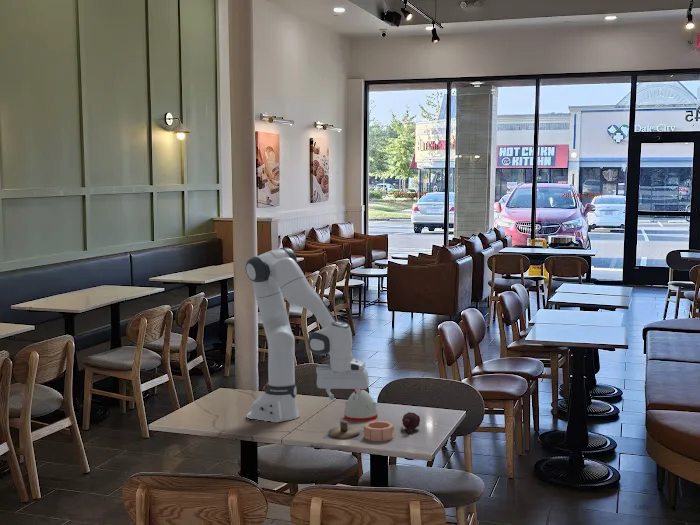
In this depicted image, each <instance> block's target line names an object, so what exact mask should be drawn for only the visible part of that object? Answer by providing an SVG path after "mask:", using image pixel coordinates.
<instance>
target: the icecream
mask: <svg viewBox="0 0 700 525" xmlns="http://www.w3.org/2000/svg"><path fill="white" fill-rule="evenodd" d="M420 418H421V417H420V415H418V414H417V413H415V412H410V411H408V412H407V413H405V414H404V415H403V416H402V419H401V420H402V426H403V427H404V428H405V429H406V430H407V431H406V432H407V434H408V435H409V434H412V432H413V430H415V429H416V428H418V427H419V426H420V423H421V419H420Z"/></svg>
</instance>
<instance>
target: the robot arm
mask: <svg viewBox="0 0 700 525" xmlns="http://www.w3.org/2000/svg"><path fill="white" fill-rule="evenodd" d="M245 273H246V275H247V277H248V279H249V280H250V281H251V282H253V290H254V291H253V292H254V295H255V299H256V303H257V306H258V311H259V314H260V318H261V322H262V326H263V330H264V333H265V337H266V341H267V348H268V349H267V356H268V357H267V362H268V363H267V370H268V382H267V383H266V384H265V385H264V386H263V390H264V392H263V393H262V394H261V395H260V396H259V397H257V398H256V399H255V400H254V401H253V403H252V404H251V409H250V410H251V411H249V412H248V413H247V414H246V417H247V418H251V419H258V420H264V421H263V422H267V421H271V422H270V423H279V422H285V421H291V420H295V419H297V418H299V417H300V411H299V408H298V403H297V384H296V381H295V380H296V379H295V378H296V377H295V360H296V359H295V357H296V356H295V355H296V353H295V352H296V347H295V345H296V342H295V341H296V339H295V335H294V333H293V331H292V328H291V327H292V326H291V324H290V319H289V314H288V311H287V307H286V306H287V305H286V302H285V300H286V301H287V303H288V304H290V305H292V306H295V307H298V308H304V309H306V310H308V311H310V312H311V313H312V314H313V315H314V317H315V318H316V320H317V322H318V323H319V324H320V326H321V329H319V330H316V331H313V332H312V333H311V334H309V336H308V338H307V347H308V348H309V351H310V352H311V353H312V354H313V355H315V356H324V355H326V354H327V355H329V358H330V359H329V363H326V364H324V363H320V364H319V365H317V366H316V368H315V374H316V375H317V377H316V386H317V388H318V389H325V392H326V393H327V395H328V398H329V399H328V400H330V401H331V400H332V401H333V400H335V394H333V393H332V392H331V390H332V389H334V390H335V389H337V390H339V389H341V390H342V389H343V390H345V389H347V390H348V389H349V390H351V389H352V390H355V391H356V392H357V393H356V395H353V400H358V394H359V392H360V389H366V390H367V388H369V385H370V378H369V374H368V371H367V369H366V362H364V361H363V360H360V359H359V360H358V359H356V358H354V355H353V350H352V349H353V335H352V334H353V333H352V330H351V326H350V325H349V324H348V323H347V322H343V321H337V319H336V318H335V317H334V315H333V313H332V312H331V310H330V309H329V307H328V306H327V304H326V302H325V301H324V300H323V298H322V297H321V296H320V294H318V292H316V291H315V290H314V288H313V287H312V286H311V284H310V283H309V281H308V279H307V278H306V276H305V274H304V271H302V269H301V267H300V265H299V264H298V258H297V256H296V253H295V251H294V250H292V249H291V248H289V247H280V248H277V249H272V250H269V251H266V252H264V253H262V254H259V255H257V256H253V257H251V258H249V259H248V260H247V261H246V263H245ZM246 417H245V418H246ZM258 420H257V421H258Z"/></svg>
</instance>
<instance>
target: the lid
mask: <svg viewBox="0 0 700 525" xmlns="http://www.w3.org/2000/svg"><path fill="white" fill-rule="evenodd" d="M339 423H340V424H339V426H338V427H337V426H336V427H333V428H330V429H329V430H328V431H329V436H330V437H333V438H339V440H348V439H347V438H353V437H357V436H358V435H359V434H360V430H361V429H359V428H357V427H353V426H348V421H347V420H341V421H340V422H339ZM333 438H332V439H333Z"/></svg>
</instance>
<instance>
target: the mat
mask: <svg viewBox="0 0 700 525" xmlns="http://www.w3.org/2000/svg"><path fill="white" fill-rule="evenodd" d="M359 430H360V434H359V435H358V436H357V437H353V438H347V439H346V440H354V441H355V440H357V441H358V440H360V439H361V436H363V435H364V429H363V430H362V429H359ZM322 439H339V438H333V437H330V436H329V430H328V431H327V432H326V433H325V434H324V436H323V437H322ZM339 440H340V439H339Z"/></svg>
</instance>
